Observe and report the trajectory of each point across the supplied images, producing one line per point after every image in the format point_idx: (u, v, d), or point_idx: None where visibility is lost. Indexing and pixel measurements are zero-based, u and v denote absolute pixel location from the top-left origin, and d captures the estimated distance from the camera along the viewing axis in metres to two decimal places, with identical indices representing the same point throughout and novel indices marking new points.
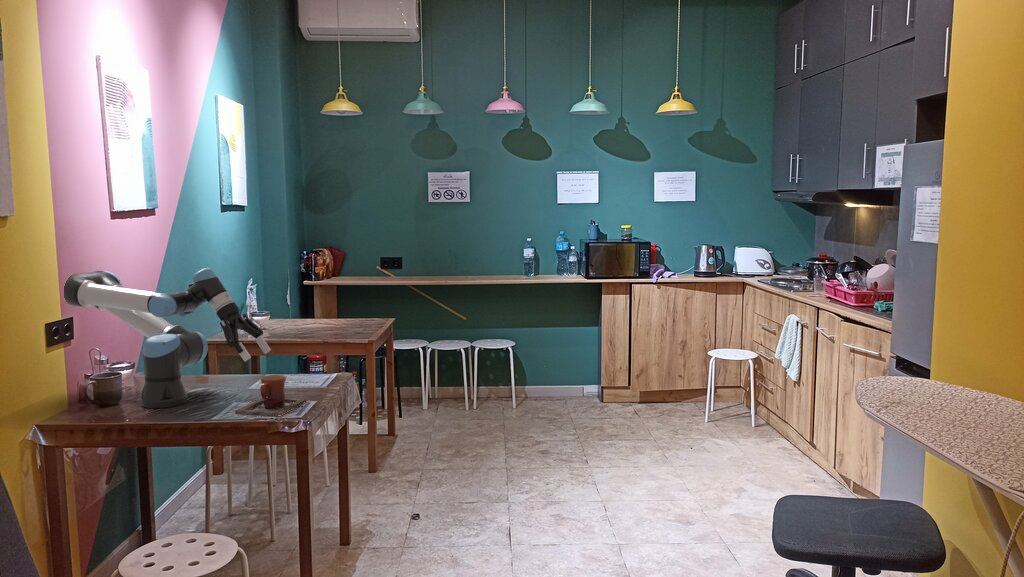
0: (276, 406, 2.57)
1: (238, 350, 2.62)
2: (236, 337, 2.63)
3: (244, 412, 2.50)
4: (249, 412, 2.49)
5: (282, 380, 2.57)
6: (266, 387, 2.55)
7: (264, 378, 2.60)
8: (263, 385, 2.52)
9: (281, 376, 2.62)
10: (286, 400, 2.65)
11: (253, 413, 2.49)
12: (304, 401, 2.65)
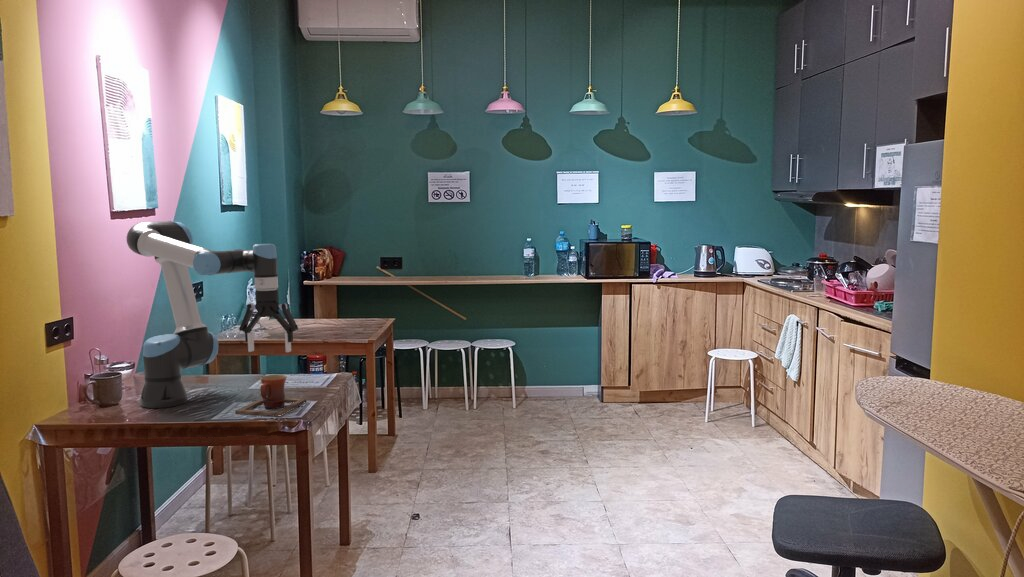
0: (276, 406, 2.57)
1: None
2: (248, 326, 2.56)
3: (244, 412, 2.50)
4: (249, 412, 2.49)
5: (282, 380, 2.57)
6: (266, 387, 2.55)
7: (264, 378, 2.60)
8: (263, 385, 2.52)
9: (281, 376, 2.62)
10: (286, 400, 2.65)
11: (253, 413, 2.49)
12: (304, 401, 2.65)
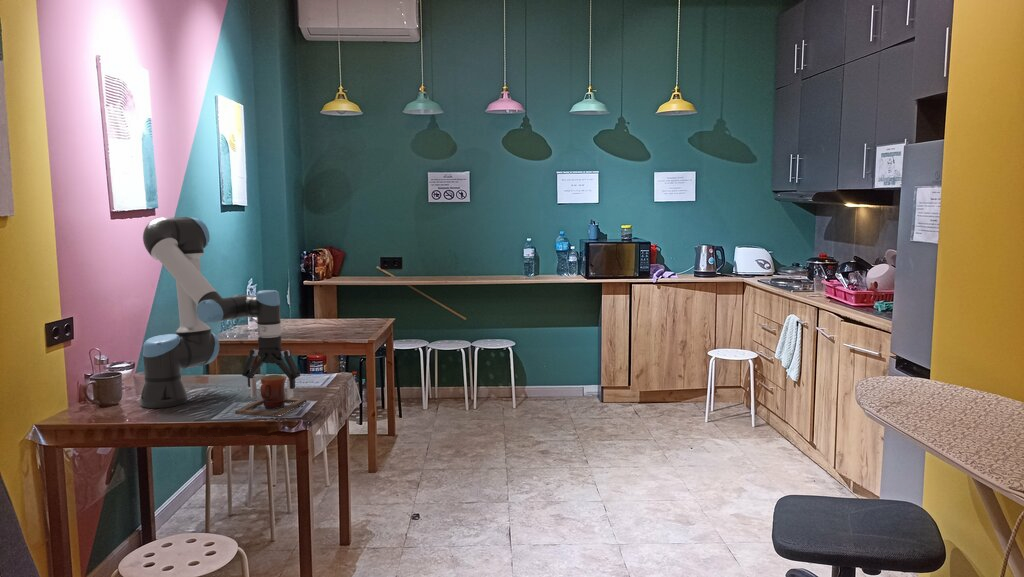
0: (276, 406, 2.57)
1: None
2: (250, 372, 2.57)
3: (244, 412, 2.50)
4: (249, 412, 2.49)
5: (282, 380, 2.57)
6: (266, 387, 2.55)
7: (264, 378, 2.60)
8: (263, 385, 2.52)
9: (281, 376, 2.62)
10: (286, 400, 2.65)
11: (253, 413, 2.49)
12: (304, 401, 2.65)
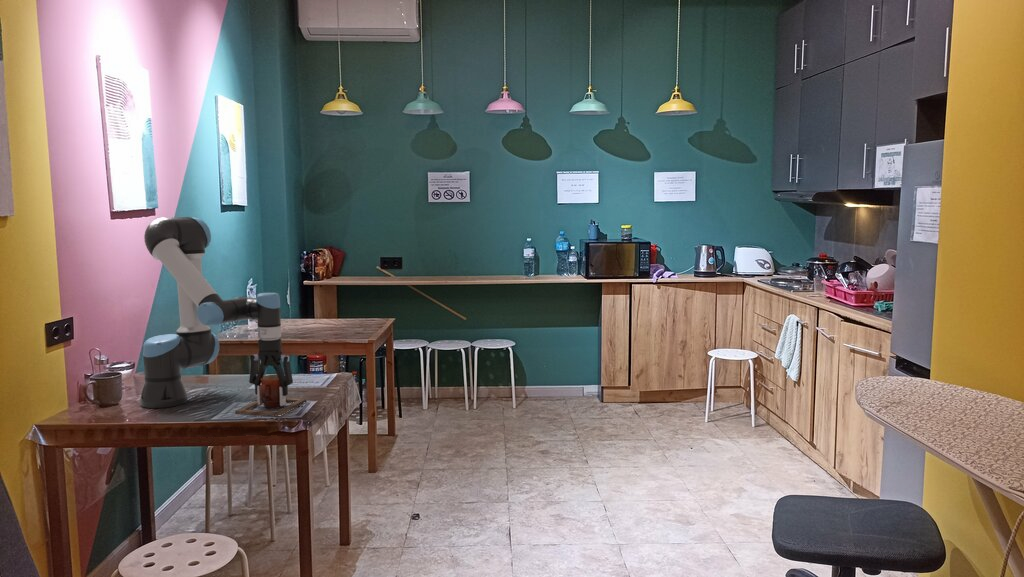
0: (276, 406, 2.57)
1: None
2: (256, 379, 2.57)
3: (244, 412, 2.50)
4: (249, 412, 2.49)
5: None
6: (266, 387, 2.55)
7: (264, 378, 2.60)
8: (263, 385, 2.52)
9: None
10: (286, 400, 2.65)
11: (253, 413, 2.49)
12: (304, 401, 2.65)
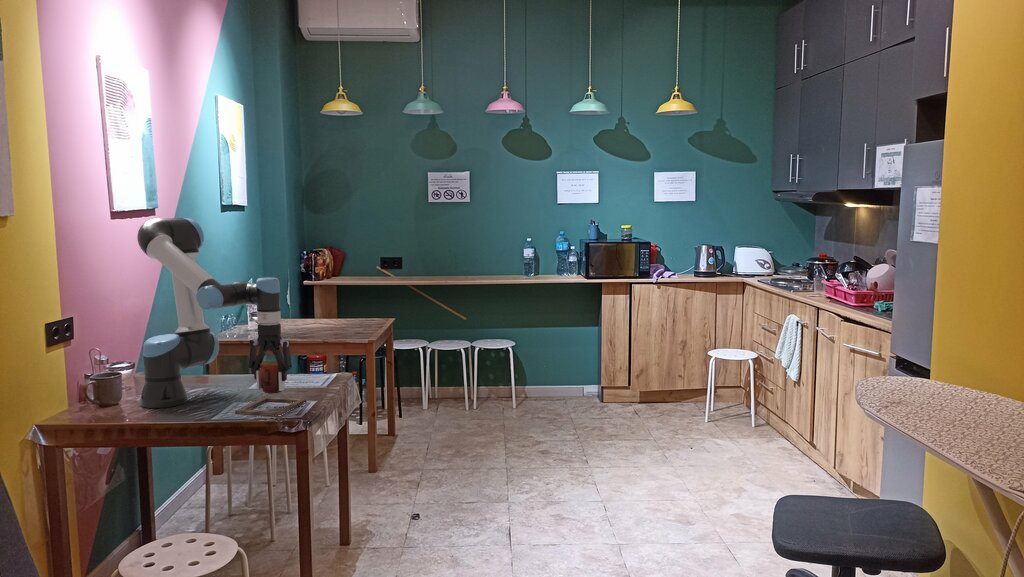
0: (275, 391, 2.56)
1: None
2: (256, 364, 2.56)
3: (244, 412, 2.50)
4: (249, 412, 2.49)
5: None
6: (265, 372, 2.55)
7: (263, 363, 2.59)
8: (262, 370, 2.51)
9: None
10: (286, 400, 2.65)
11: (253, 413, 2.49)
12: (304, 401, 2.65)
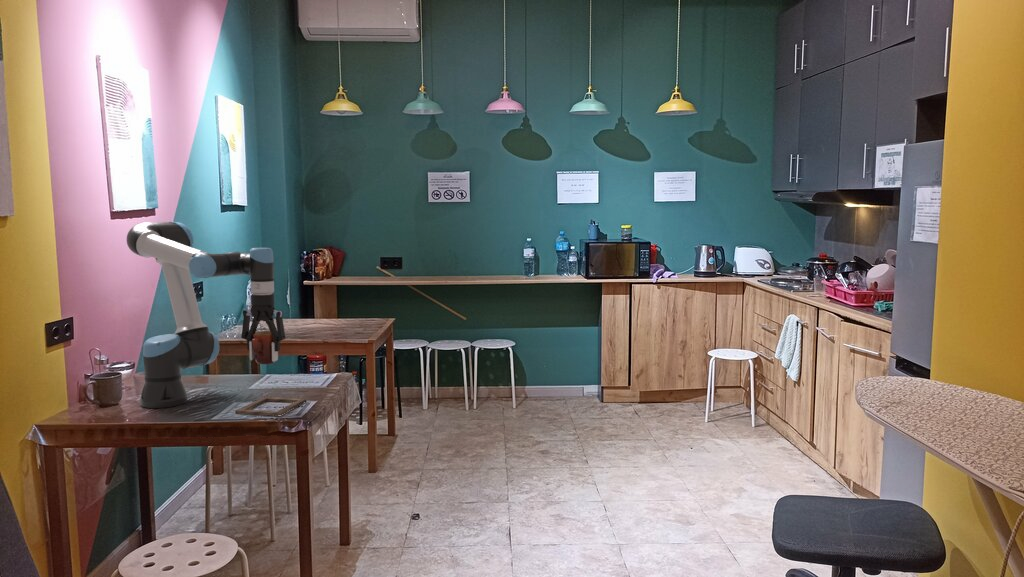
0: (268, 362, 2.55)
1: None
2: (249, 334, 2.55)
3: (244, 412, 2.50)
4: (249, 412, 2.49)
5: None
6: (258, 342, 2.54)
7: (256, 334, 2.59)
8: (255, 340, 2.50)
9: None
10: (286, 400, 2.65)
11: (253, 413, 2.49)
12: (304, 401, 2.65)
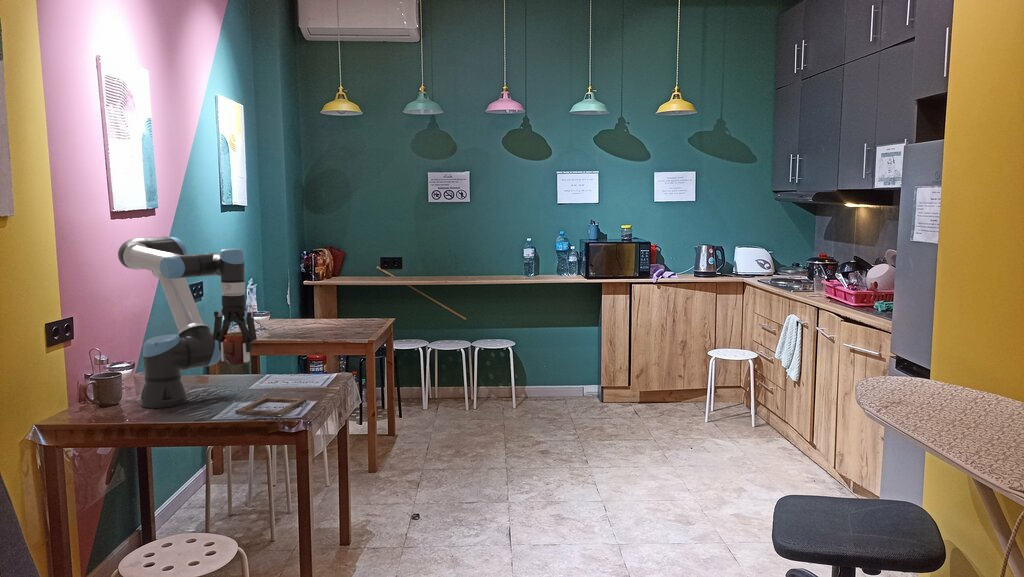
0: (240, 362, 2.56)
1: None
2: (220, 335, 2.56)
3: (244, 412, 2.50)
4: (249, 412, 2.49)
5: None
6: (229, 343, 2.55)
7: (228, 335, 2.59)
8: (226, 340, 2.51)
9: None
10: (286, 400, 2.65)
11: (253, 413, 2.49)
12: (304, 401, 2.65)
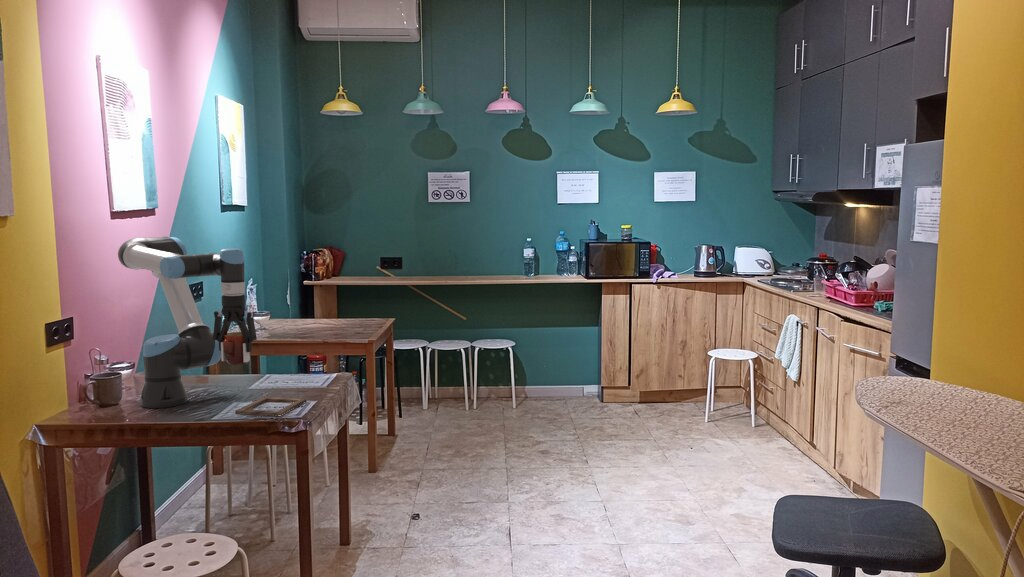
0: (240, 362, 2.56)
1: None
2: (220, 335, 2.56)
3: (244, 412, 2.50)
4: (249, 412, 2.49)
5: None
6: (229, 343, 2.55)
7: (228, 335, 2.59)
8: (226, 340, 2.51)
9: None
10: (286, 400, 2.65)
11: (253, 413, 2.49)
12: (304, 401, 2.65)
